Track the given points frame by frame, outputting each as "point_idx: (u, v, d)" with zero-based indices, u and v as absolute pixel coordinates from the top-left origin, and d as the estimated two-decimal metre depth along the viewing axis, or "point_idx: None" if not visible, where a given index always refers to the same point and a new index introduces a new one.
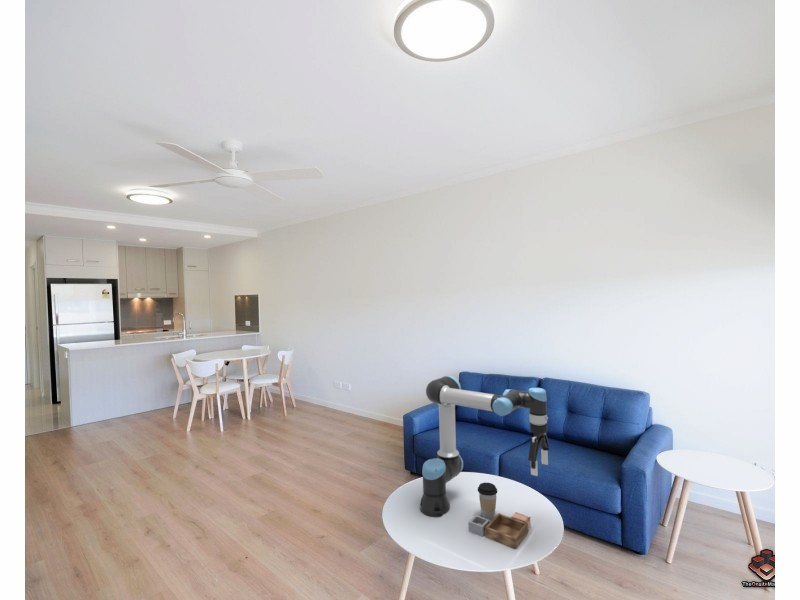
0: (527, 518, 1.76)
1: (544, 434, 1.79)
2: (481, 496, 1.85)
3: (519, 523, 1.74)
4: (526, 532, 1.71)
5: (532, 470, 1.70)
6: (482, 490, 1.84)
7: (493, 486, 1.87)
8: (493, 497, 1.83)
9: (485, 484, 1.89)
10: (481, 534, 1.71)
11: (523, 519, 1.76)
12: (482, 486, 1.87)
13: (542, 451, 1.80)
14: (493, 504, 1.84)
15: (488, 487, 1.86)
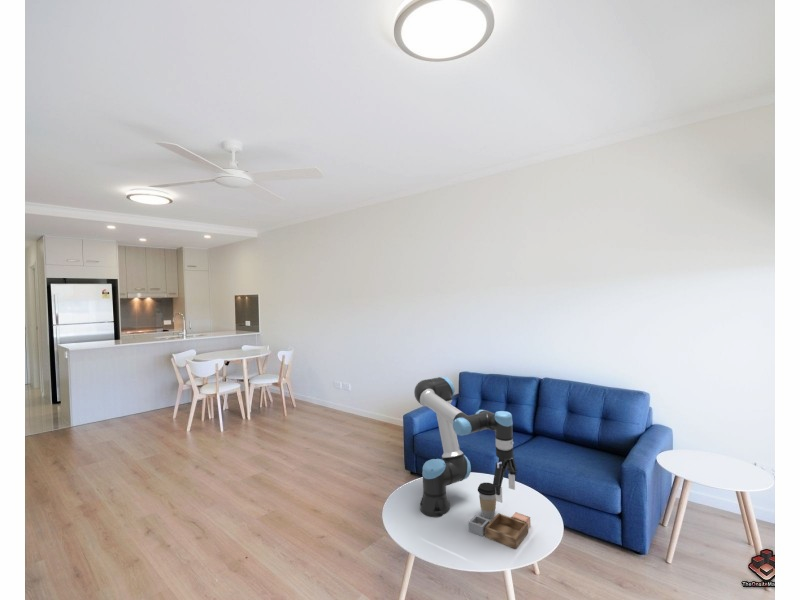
0: (527, 518, 1.76)
1: (511, 458, 1.75)
2: (481, 496, 1.85)
3: (519, 523, 1.74)
4: (526, 532, 1.71)
5: (496, 496, 1.66)
6: (482, 490, 1.84)
7: None
8: (493, 497, 1.83)
9: (485, 484, 1.89)
10: (481, 534, 1.71)
11: (523, 519, 1.76)
12: (482, 486, 1.87)
13: (509, 475, 1.77)
14: (493, 504, 1.84)
15: (488, 487, 1.86)
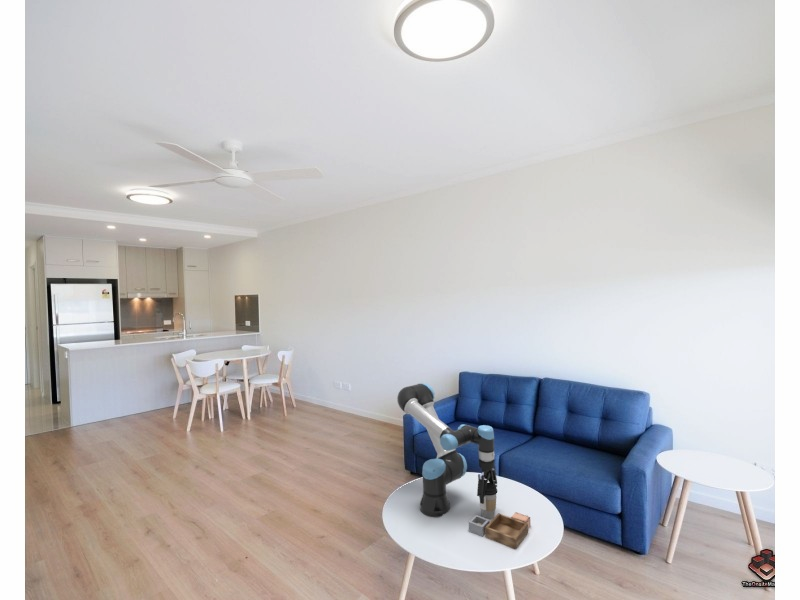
0: (527, 518, 1.76)
1: (493, 470, 1.91)
2: None
3: (519, 523, 1.74)
4: (526, 532, 1.71)
5: (481, 505, 1.83)
6: None
7: (493, 486, 1.87)
8: (493, 497, 1.83)
9: None
10: (481, 534, 1.71)
11: (523, 519, 1.76)
12: None
13: None
14: (493, 504, 1.84)
15: (488, 487, 1.86)
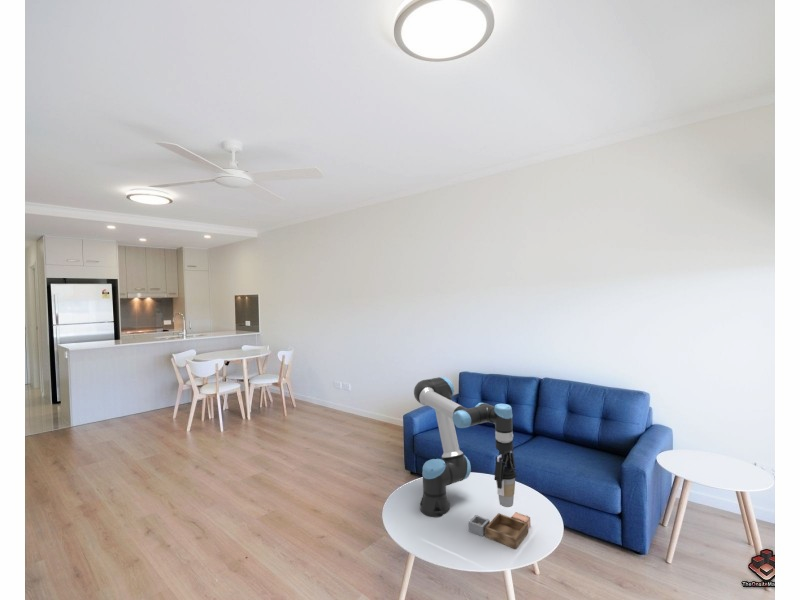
0: (527, 518, 1.76)
1: (511, 452, 1.75)
2: None
3: (519, 523, 1.74)
4: (526, 532, 1.71)
5: (498, 490, 1.68)
6: None
7: (511, 470, 1.71)
8: (512, 481, 1.68)
9: None
10: (481, 534, 1.71)
11: (523, 519, 1.76)
12: None
13: None
14: (512, 489, 1.68)
15: (506, 471, 1.71)
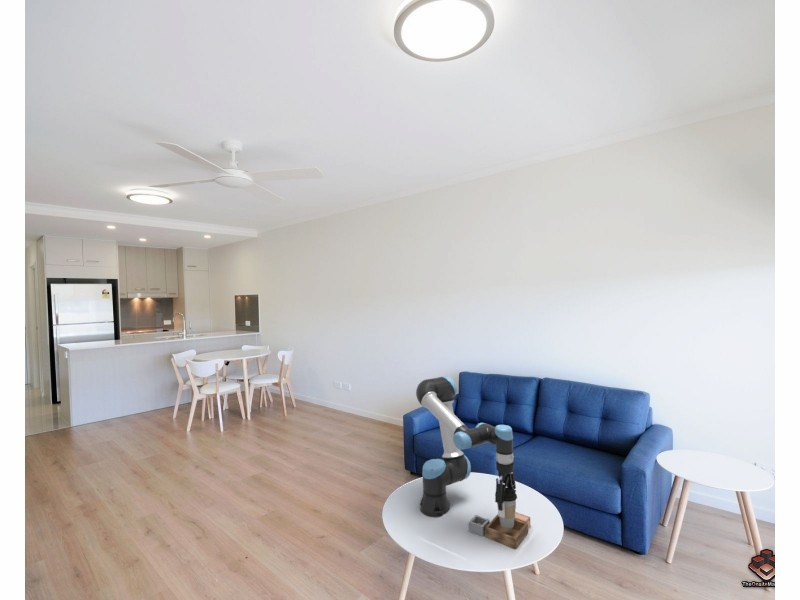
0: (527, 518, 1.76)
1: (511, 473, 1.75)
2: None
3: (519, 523, 1.74)
4: (526, 532, 1.71)
5: (499, 512, 1.68)
6: None
7: (512, 491, 1.71)
8: (512, 503, 1.68)
9: None
10: (481, 534, 1.71)
11: (523, 519, 1.76)
12: None
13: None
14: (513, 511, 1.68)
15: (507, 492, 1.71)
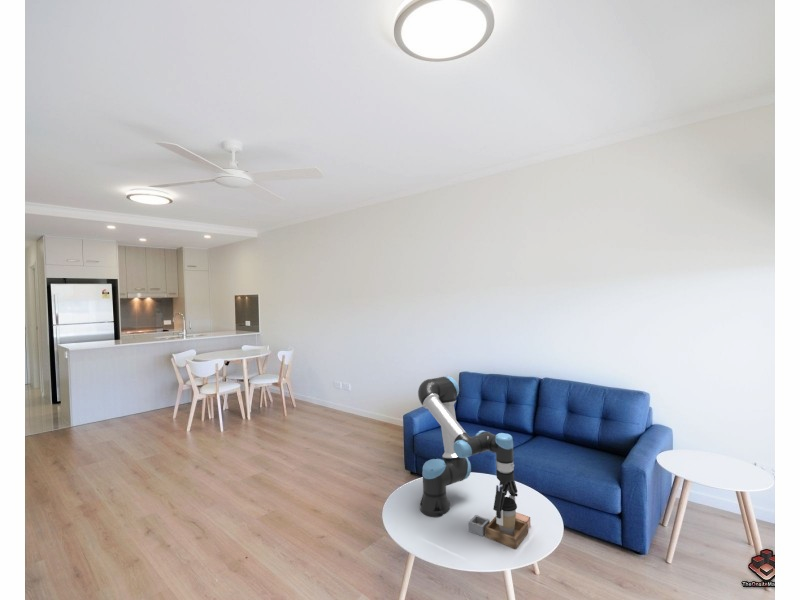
0: (527, 518, 1.76)
1: (512, 480, 1.75)
2: None
3: (519, 523, 1.74)
4: (526, 532, 1.71)
5: (497, 519, 1.66)
6: None
7: (512, 501, 1.71)
8: (512, 513, 1.68)
9: None
10: (481, 534, 1.71)
11: (523, 519, 1.76)
12: None
13: (510, 497, 1.77)
14: (512, 521, 1.68)
15: (507, 502, 1.71)
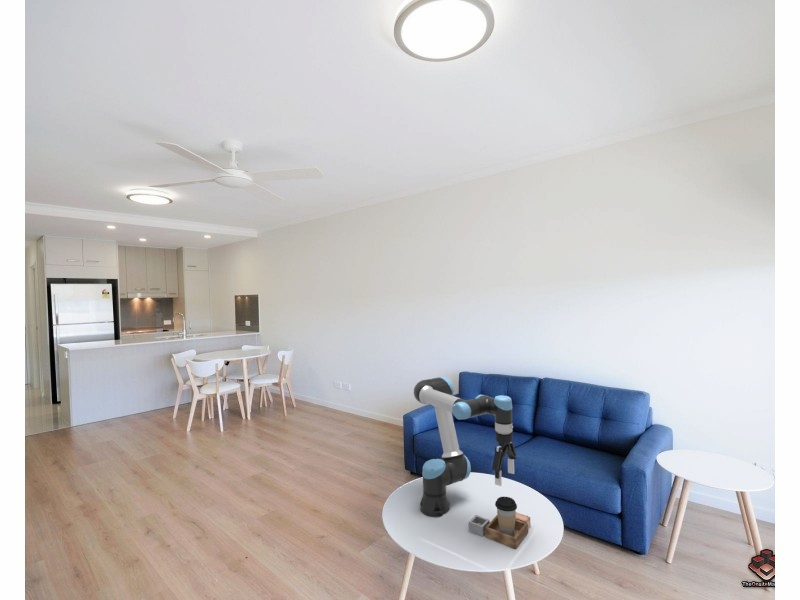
0: (527, 518, 1.76)
1: (510, 443, 1.75)
2: (499, 512, 1.69)
3: (519, 523, 1.74)
4: (526, 532, 1.71)
5: (496, 480, 1.66)
6: (500, 505, 1.69)
7: (512, 501, 1.71)
8: (512, 513, 1.68)
9: (503, 498, 1.74)
10: (481, 534, 1.71)
11: (523, 519, 1.76)
12: (500, 501, 1.72)
13: (508, 460, 1.77)
14: (512, 521, 1.68)
15: (507, 502, 1.71)
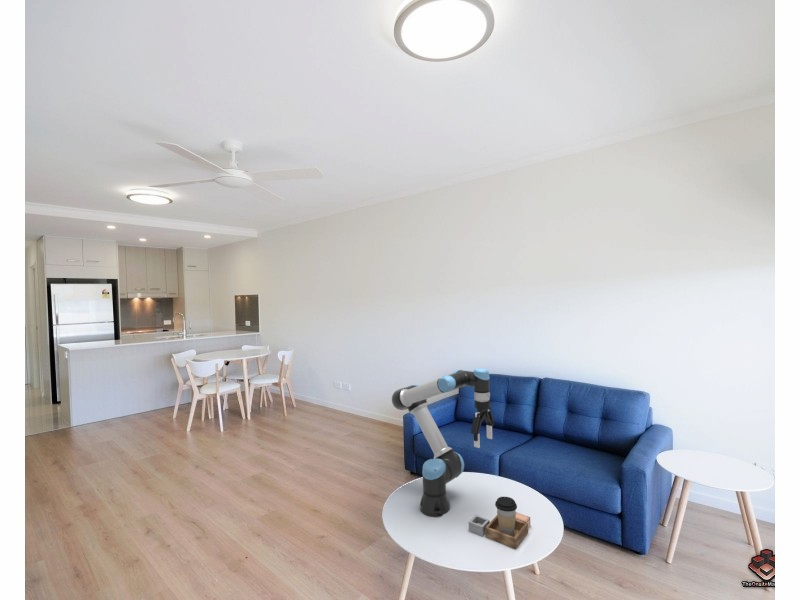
0: (527, 518, 1.76)
1: (488, 411, 1.95)
2: (499, 512, 1.69)
3: (519, 523, 1.74)
4: (526, 532, 1.71)
5: (474, 443, 1.86)
6: (500, 505, 1.69)
7: (512, 501, 1.71)
8: (512, 513, 1.68)
9: (503, 498, 1.74)
10: (481, 534, 1.71)
11: (523, 519, 1.76)
12: (500, 501, 1.72)
13: (487, 426, 1.96)
14: (512, 521, 1.68)
15: (507, 502, 1.71)
